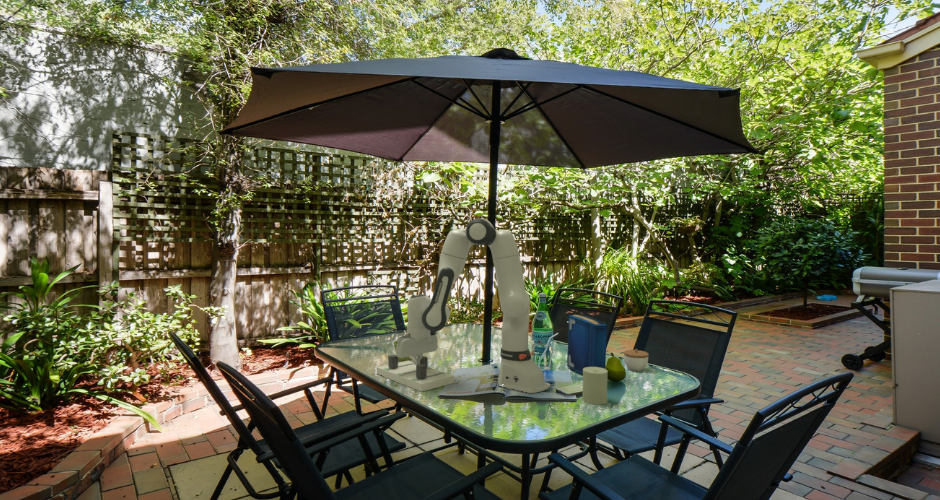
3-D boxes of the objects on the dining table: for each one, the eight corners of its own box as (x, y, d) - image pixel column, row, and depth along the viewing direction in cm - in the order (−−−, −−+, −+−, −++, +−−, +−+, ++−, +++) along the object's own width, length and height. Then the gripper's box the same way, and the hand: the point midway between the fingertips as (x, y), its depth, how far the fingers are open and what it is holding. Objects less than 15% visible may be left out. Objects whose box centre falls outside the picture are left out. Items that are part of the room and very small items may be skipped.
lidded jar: (643, 366, 239) (644, 346, 239) (651, 373, 229) (651, 352, 228) (620, 366, 240) (621, 346, 239) (627, 372, 229) (627, 351, 229)
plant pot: (416, 359, 250) (416, 341, 249) (404, 363, 242) (404, 345, 241) (401, 356, 254) (401, 339, 254) (389, 360, 246) (389, 342, 246)
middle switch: (427, 368, 221) (427, 357, 220) (421, 369, 219) (421, 358, 218) (423, 367, 223) (423, 355, 223) (417, 368, 221) (417, 357, 221)
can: (583, 403, 188) (583, 371, 188) (581, 395, 197) (581, 364, 197) (608, 405, 187) (609, 372, 186) (605, 396, 196) (606, 366, 196)
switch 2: (426, 377, 208) (426, 365, 207) (420, 379, 206) (420, 366, 205) (421, 375, 210) (422, 363, 210) (416, 377, 208) (416, 365, 208)
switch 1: (398, 367, 222) (398, 356, 222) (392, 368, 220) (392, 357, 220) (394, 365, 225) (394, 354, 224) (388, 367, 223) (388, 355, 222)
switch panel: (454, 382, 212) (454, 375, 212) (421, 391, 201) (421, 383, 200) (408, 366, 235) (408, 360, 235) (376, 374, 224) (376, 366, 224)
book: (608, 379, 218) (609, 321, 217) (594, 381, 215) (595, 322, 214) (579, 366, 238) (580, 313, 237) (566, 368, 235) (567, 314, 234)
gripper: (402, 337, 208) (401, 370, 209) (440, 330, 223) (439, 362, 223) (393, 334, 213) (392, 367, 214) (431, 328, 227) (430, 359, 228)
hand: (417, 364), depth 219 cm, fingers closed
